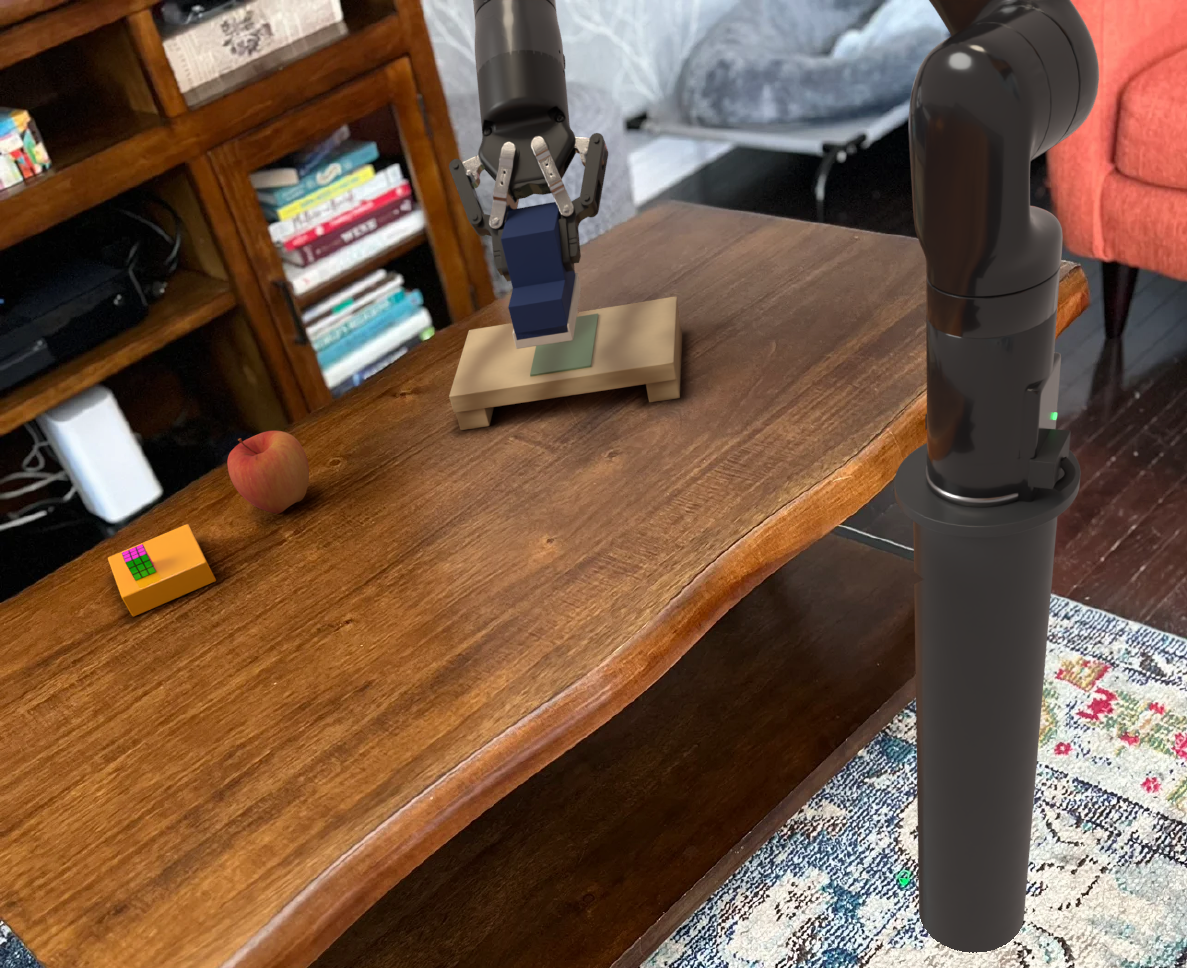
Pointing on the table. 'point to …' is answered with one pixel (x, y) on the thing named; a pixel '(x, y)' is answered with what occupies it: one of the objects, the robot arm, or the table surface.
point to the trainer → (539, 277)
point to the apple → (270, 470)
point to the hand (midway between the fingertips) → (538, 272)
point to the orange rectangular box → (160, 570)
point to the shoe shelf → (571, 360)
